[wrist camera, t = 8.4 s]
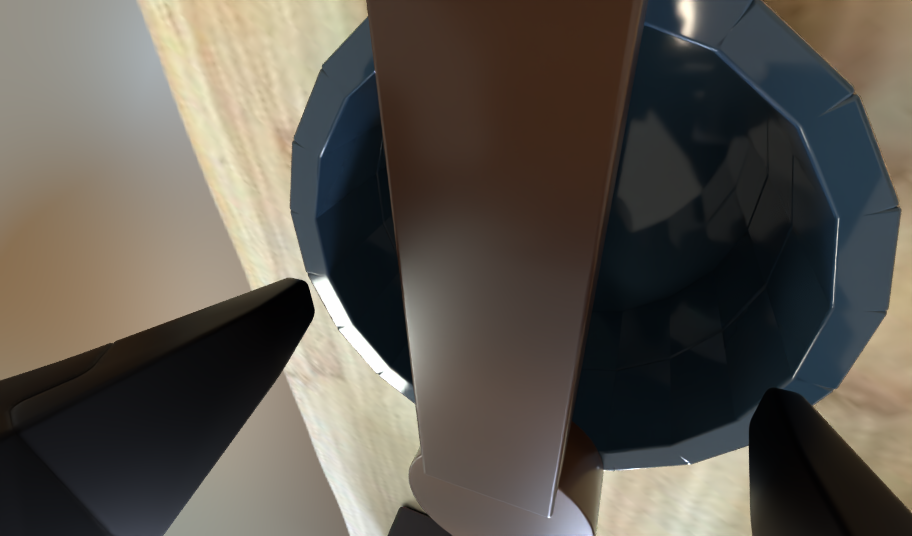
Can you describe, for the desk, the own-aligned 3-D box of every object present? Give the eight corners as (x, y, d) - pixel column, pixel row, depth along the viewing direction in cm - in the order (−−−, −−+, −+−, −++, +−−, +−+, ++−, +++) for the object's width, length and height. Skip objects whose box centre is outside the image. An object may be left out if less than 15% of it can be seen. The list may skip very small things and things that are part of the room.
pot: (891, -60, 10) (1148, -77, 5) (721, 348, 17) (746, 526, 12) (392, -41, 14) (222, -38, 9) (421, 285, 21) (338, 397, 16)
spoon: (379, -223, 6) (215, -325, 4) (815, -304, 5) (959, -550, 2) (439, 472, 16) (401, 559, 14) (590, 524, 14) (575, 633, 12)
